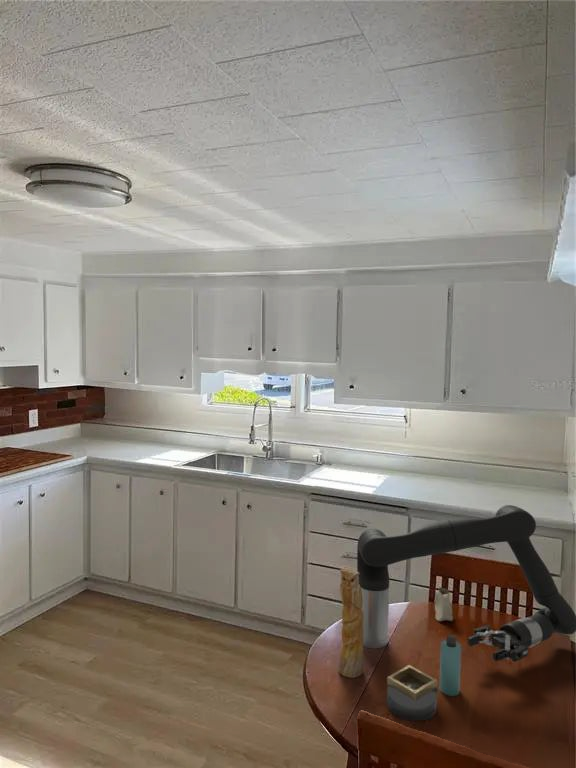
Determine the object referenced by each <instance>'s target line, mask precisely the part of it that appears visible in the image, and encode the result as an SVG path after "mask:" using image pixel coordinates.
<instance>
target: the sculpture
mask: <svg viewBox="0 0 576 768" xmlns="http://www.w3.org/2000/svg"><path fill="white" fill-rule="evenodd" d="M339 573H340V574H341V575H340V584H339V588H340V589H339V590H340V597H341V603H342V606H343V607H342V609H341V610H342V611H341V615H342V616H341V617H342V618H341V623H342V627H341V640H342V641H341V644H342V645H341V650H340V657H339V662H338V673H340V675H342V676H343V677H346V678H352V679H353V678H358V677H360V676H361V675H363V674H364V646H363V618H364V613H363V611H362V610H361V609H362V604H363V597H362V590H361V587H360V585H359V577H358V575H359V574H360V573H359V572H357V570H355V569H351V568H344V569H343V568H342V569H341V568H340V569H339Z"/></svg>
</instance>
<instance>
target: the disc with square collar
mask: <svg viewBox="0 0 576 768" xmlns="http://www.w3.org/2000/svg"><path fill="white" fill-rule="evenodd" d="M437 699H438V680H437V679H436V678H434V677H433V676H430V675H429V674H427V673H424V672H423V671H421V670H419V669H418V668H416V667H414V666H412V665H410V664H408V665H406V666H405V667H403V668H401V669H399V670H397V671H396V672H394V673H392V674H390V675H388V676H387V677H386V706H387V708H388V710H389V711H390V712H391V713H392V714H394V715H396V716H397V717H399V718H401V719H404V720H408V721H412V722H413V721H414V722H422V721H427V720H430V719H431V718H432V717H434V716H435V715H436V713H437V702H438V701H437Z"/></svg>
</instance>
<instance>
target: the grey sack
mask: <svg viewBox="0 0 576 768" xmlns="http://www.w3.org/2000/svg"><path fill="white" fill-rule="evenodd" d="M450 598H451V597H450V590H448V589H447V588H444V587H439V588H438V592H437V593H436V595H435V597H434V602H433V603H434V610H435V621H438V622H443V621H450V622H453V620H454V617H453V607H452V603H451V599H450Z"/></svg>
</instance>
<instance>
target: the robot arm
mask: <svg viewBox="0 0 576 768" xmlns="http://www.w3.org/2000/svg"><path fill="white" fill-rule="evenodd" d="M536 528H537V523H536V519H535V518H534V517H533V515H532V514H531V513H529V512H528V511H527V510H525V509H523V508H521V507H519V506H516V505H509V504H506V505H503V506H501V507H499V509H497V511H496V513H495V516H492V517H491V516H490V517H485V518H472V517H471V518H470V517H469V518H467V517H466V518H465V517H464V518H463V517H460V518H459V517H457V518H456V517H455V518H446V519H441V520H435V521H431V522H429V523H427V524H424V525H422V526H421V527H418V528H416V529H415V530H413V531H411V532H409V533H405V534H399V535H392V536H387V535H386V534H385V533H384V532H383V531H381V530H379V529H377V528H369V529H366V530H364V531H363V532H362V533H361V534H360V536H359V537H358V539H357V540H358V541H357V547H356V550H357V555H356V561H357V562H356V565H357V566H356V571H357V572H359V573H360V574H359V575H358V577H359V585H360V587H361V590H362V597H363V604H362V609H361V610H362V611H363V613H364V618H363V648H369V649H381V648H385V646H387V645H388V641H389V638H388V637H389V611H390V610H389V607H390V605H389V604H390V574H389V565H393V564H396V563H399V562H404V561H406V560H411V559H416V558H421V557H427V556H428V557H429V556H433V555H439V554H448V553H451V552H456V551H461V550H467V549H470V548H471V549H472V548H475V547H480V546H484V545H489V544H495V543H497V544H498V543H507V545H509V548H510V549H511V551H512V553H513V554H514V556H515V558H516V560H517V563H518V565H519V566H520V569H521V570H522V573H523V575H524V577H525V579H526V581H527V584H528V586H529V588H530V591H531V593H532V595H533V598H534V600H535V602H537V604H539V605H541V606H543V607H542V608H541V609H539V610H537V611H536V612H535V613H534V614H533V615H530V616H527V617H522V618H519V619H515V620H513V621H510V622H507V623H504V624H503V625H502V626H501V627H500V628H499V629H497V630H492V629H491V625H489V624H487V625H483V626H480V627H476V628H473V629H472V631H473V632H472V635H471V636H468V638H467V645H468V646H470V647H473V646H476V645H478V644H485V645H486V646H494V647H496V648H497V650H496V651H494V652H493V653H492V660H493V661H495V662H498V661H502V660H504V659H506V660H510V659H511V661H512V662H514V663H515V662H518V661H520V660H522V659H524V658H526V657H528V654H529V649H530V648H533V647H534V646H536V645H538V644H540V643H542V642H545V641H547V640H548V639H550V638H551V637H552V636H553V635H554V634H561V635H568V636H569V635H573V634H575V633H576V613H575V611H574V609H573V608H572V607H571V605H569V603H568V602H567V601H566V598H564V596H563V595H562V594H561V592H559V590H558V587H557V585H556V583H555V580H554V578H553V576H552V573H551V572H550V571H549V569H548V568H547V565H546V564H545V562H544V561H543V560H542V558H541V557H540V555H539V554H538V552H537V550H536V549H535V547H534V545H533V543H532V541H531V539H530V537H532V536H533V535H534V533H535V531H536ZM490 636H491V637H490ZM483 638H484V639H483ZM490 638H491V639H490ZM489 639H490V640H489ZM498 649H499V650H498Z"/></svg>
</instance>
